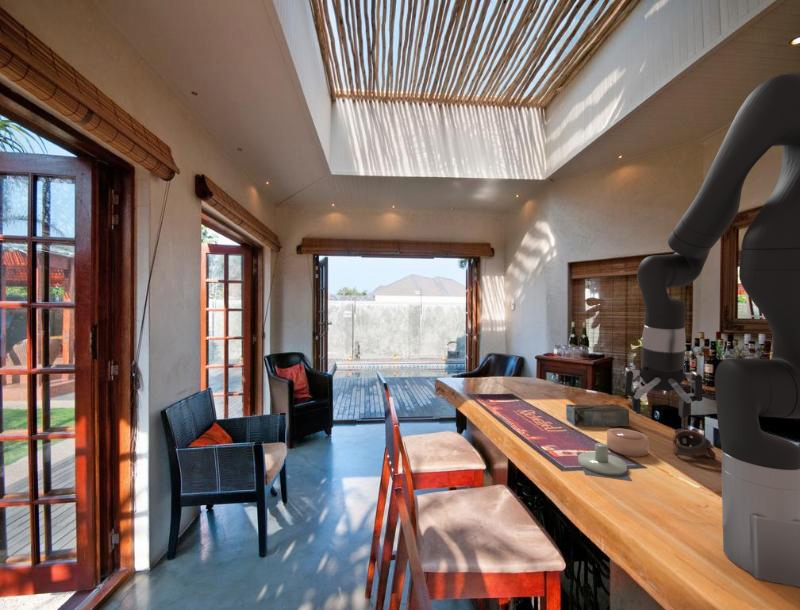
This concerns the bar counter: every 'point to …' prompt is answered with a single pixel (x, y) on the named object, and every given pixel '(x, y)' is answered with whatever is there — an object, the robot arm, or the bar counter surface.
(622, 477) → the mat
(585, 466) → the lid
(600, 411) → the beverage carton
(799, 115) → the robot arm
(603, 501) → the bar counter surface
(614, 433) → the bowl
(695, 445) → the pottery mug
